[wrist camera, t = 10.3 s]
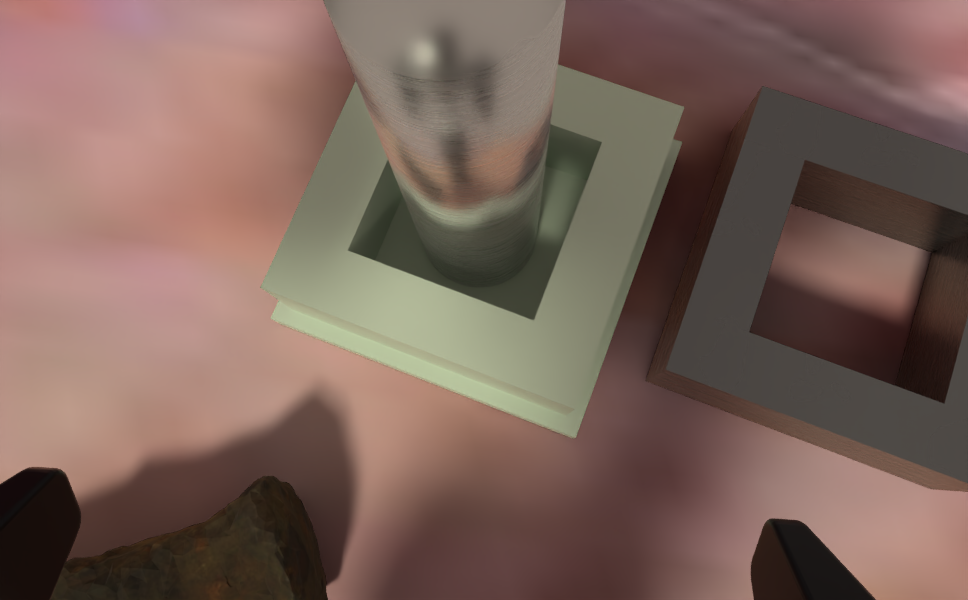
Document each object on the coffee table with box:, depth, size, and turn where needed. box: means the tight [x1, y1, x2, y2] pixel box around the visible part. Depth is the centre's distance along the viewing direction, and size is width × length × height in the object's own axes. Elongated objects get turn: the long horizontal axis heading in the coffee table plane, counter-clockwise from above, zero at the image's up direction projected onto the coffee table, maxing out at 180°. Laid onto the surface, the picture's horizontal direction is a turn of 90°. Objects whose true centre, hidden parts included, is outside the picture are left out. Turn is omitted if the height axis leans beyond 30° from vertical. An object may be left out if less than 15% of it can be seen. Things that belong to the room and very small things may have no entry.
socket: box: [646, 86, 968, 492], centre depth 22 cm, size 9×9×3 cm
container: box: [260, 64, 684, 439], centre depth 22 cm, size 10×10×4 cm
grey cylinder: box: [324, 0, 566, 287], centre depth 17 cm, size 4×4×13 cm
